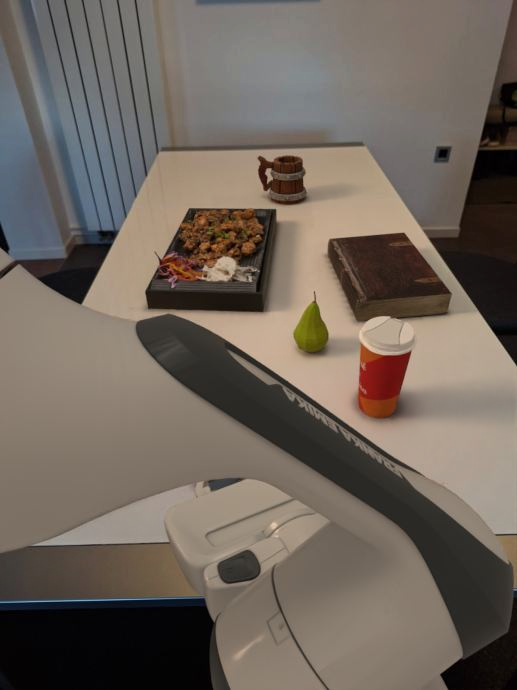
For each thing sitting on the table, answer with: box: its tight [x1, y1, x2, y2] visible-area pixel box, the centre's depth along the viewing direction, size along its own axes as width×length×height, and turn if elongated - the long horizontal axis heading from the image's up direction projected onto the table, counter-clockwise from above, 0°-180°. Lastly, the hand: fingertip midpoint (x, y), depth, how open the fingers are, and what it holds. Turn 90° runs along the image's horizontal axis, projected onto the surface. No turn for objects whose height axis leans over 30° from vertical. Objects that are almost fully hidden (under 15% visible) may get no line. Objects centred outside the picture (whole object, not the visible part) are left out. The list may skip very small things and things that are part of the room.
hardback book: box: [327, 232, 452, 322], centre depth 110 cm, size 29×19×5 cm, turn 5°
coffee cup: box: [357, 316, 418, 419], centre depth 76 cm, size 8×8×15 cm
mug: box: [257, 154, 308, 205], centre depth 151 cm, size 12×14×15 cm
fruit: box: [292, 290, 329, 353], centre depth 89 cm, size 6×6×12 cm
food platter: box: [144, 207, 278, 313], centre depth 119 cm, size 45×25×10 cm, turn 175°
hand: (245, 449), depth 51 cm, fingers open, 8 cm apart
